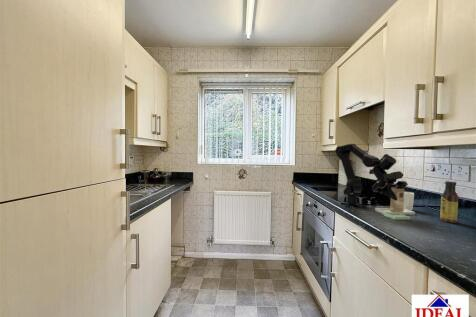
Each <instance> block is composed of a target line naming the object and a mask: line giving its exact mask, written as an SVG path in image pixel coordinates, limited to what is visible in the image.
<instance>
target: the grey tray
mask: <svg viewBox="0 0 476 317" xmlns="http://www.w3.org/2000/svg"><path fill="white" fill-rule="evenodd" d="M400 214H403V215H406V216H412V215H413V216H415V215H416V211H413V210H412V211H410V210H407V209H403V213H400Z"/></svg>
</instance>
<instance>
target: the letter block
mask: <svg viewBox="0 0 476 317" xmlns="http://www.w3.org/2000/svg"><path fill="white" fill-rule="evenodd" d="M391 190H392V191H393V193H394V194H395V196H396V198H397V200H394V199H392V198H390V205H389V209H390V211H391V212H394V213H403V209H404V192H405V188H403V189H400V188H391Z"/></svg>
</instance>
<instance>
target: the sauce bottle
mask: <svg viewBox="0 0 476 317" xmlns="http://www.w3.org/2000/svg"><path fill="white" fill-rule="evenodd" d="M444 184H445V185H444V190H443V193H442V195H441V197H440V198H441V199H440V212H439V213H440V214H439V216H440V217H439V218H440V220H441V222H444V223H445V222H446V223H451V224H456V223H457V220H458V210H459V208H458V207H459V195H458V193H457V190H456V186H457V181H454V180H445V182H444Z"/></svg>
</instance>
